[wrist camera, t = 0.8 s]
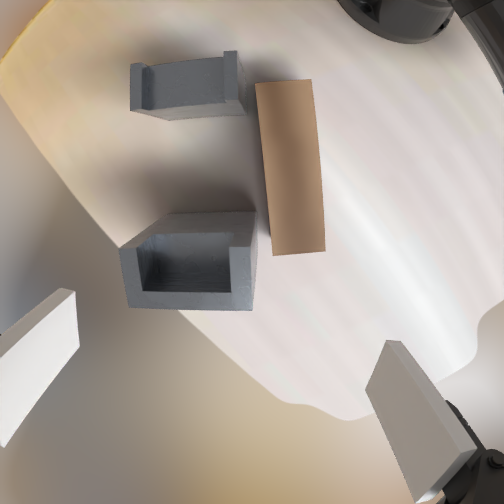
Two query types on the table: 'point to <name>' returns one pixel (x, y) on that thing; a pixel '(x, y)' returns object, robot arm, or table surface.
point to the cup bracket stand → (192, 224)
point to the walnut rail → (291, 166)
